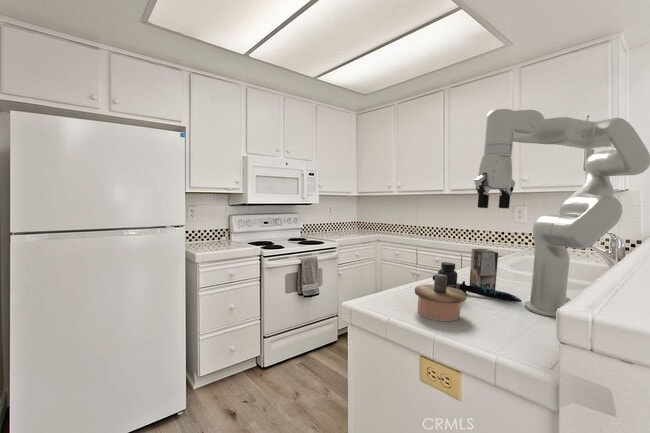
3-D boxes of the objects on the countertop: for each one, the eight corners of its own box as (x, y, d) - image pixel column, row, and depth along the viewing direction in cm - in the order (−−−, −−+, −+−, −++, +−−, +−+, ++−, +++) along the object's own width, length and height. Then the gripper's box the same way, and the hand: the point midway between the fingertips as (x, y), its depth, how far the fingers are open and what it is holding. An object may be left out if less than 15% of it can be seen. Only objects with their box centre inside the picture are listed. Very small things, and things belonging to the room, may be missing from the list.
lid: (439, 285, 111) (440, 268, 110) (477, 299, 97) (478, 279, 97) (404, 290, 104) (405, 271, 103) (440, 305, 90) (441, 284, 90)
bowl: (438, 304, 109) (439, 287, 109) (467, 318, 98) (469, 298, 98) (410, 309, 104) (411, 291, 103) (438, 323, 93) (439, 303, 92)
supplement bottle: (452, 299, 115) (455, 266, 114) (433, 295, 119) (435, 263, 119) (458, 295, 121) (460, 263, 120) (439, 291, 125) (441, 260, 124)
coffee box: (495, 295, 123) (499, 252, 121) (478, 294, 123) (481, 252, 121) (484, 287, 132) (487, 248, 130) (468, 287, 132) (471, 247, 131)
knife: (430, 285, 127) (432, 274, 127) (432, 283, 130) (434, 273, 129) (520, 310, 112) (523, 298, 112) (520, 308, 115) (523, 296, 114)
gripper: (504, 155, 106) (500, 207, 108) (467, 150, 99) (463, 207, 100) (527, 153, 100) (523, 209, 101) (489, 148, 92) (485, 208, 93)
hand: (493, 208), depth 101 cm, fingers open, 9 cm apart
